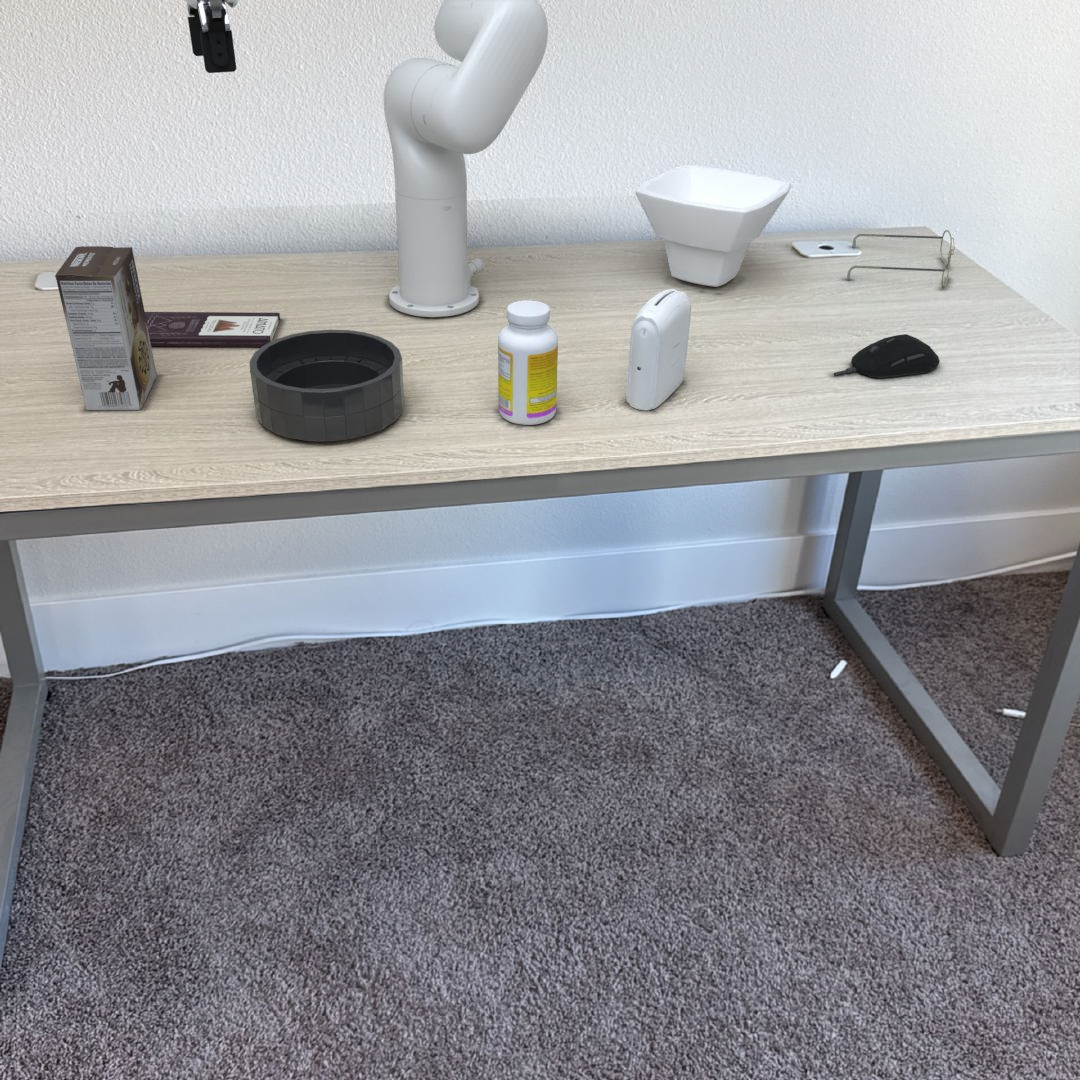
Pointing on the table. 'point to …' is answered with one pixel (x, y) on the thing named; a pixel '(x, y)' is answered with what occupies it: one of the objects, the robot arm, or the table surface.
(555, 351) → the supplement bottle
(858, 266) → the eyeglasses
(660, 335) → the photo printer
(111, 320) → the coffee box
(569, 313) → the table surface
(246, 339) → the chocolate bar
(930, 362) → the gaming mouse
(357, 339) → the black bowl
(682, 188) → the bowl
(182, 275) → the table surface
